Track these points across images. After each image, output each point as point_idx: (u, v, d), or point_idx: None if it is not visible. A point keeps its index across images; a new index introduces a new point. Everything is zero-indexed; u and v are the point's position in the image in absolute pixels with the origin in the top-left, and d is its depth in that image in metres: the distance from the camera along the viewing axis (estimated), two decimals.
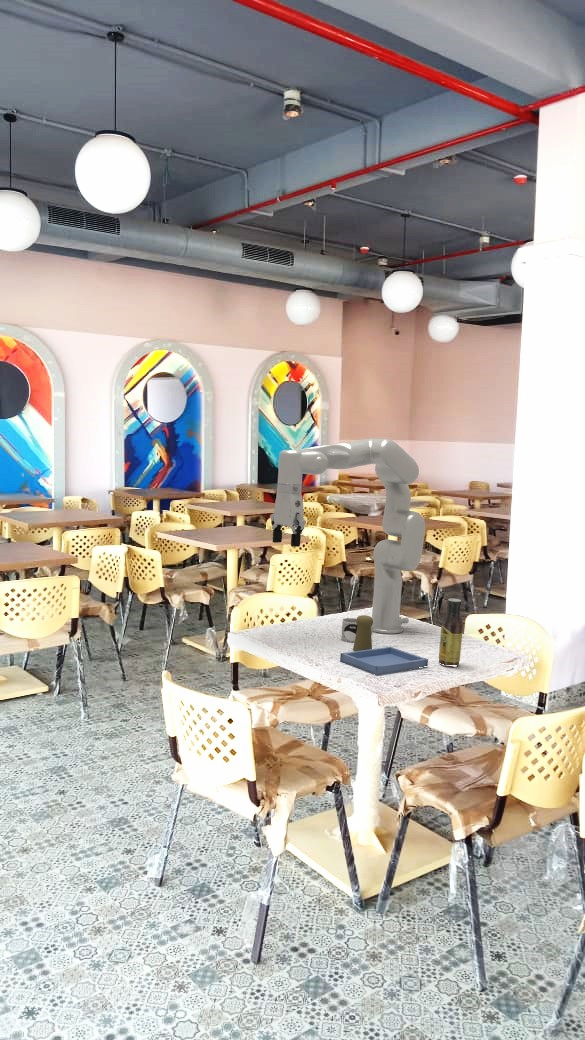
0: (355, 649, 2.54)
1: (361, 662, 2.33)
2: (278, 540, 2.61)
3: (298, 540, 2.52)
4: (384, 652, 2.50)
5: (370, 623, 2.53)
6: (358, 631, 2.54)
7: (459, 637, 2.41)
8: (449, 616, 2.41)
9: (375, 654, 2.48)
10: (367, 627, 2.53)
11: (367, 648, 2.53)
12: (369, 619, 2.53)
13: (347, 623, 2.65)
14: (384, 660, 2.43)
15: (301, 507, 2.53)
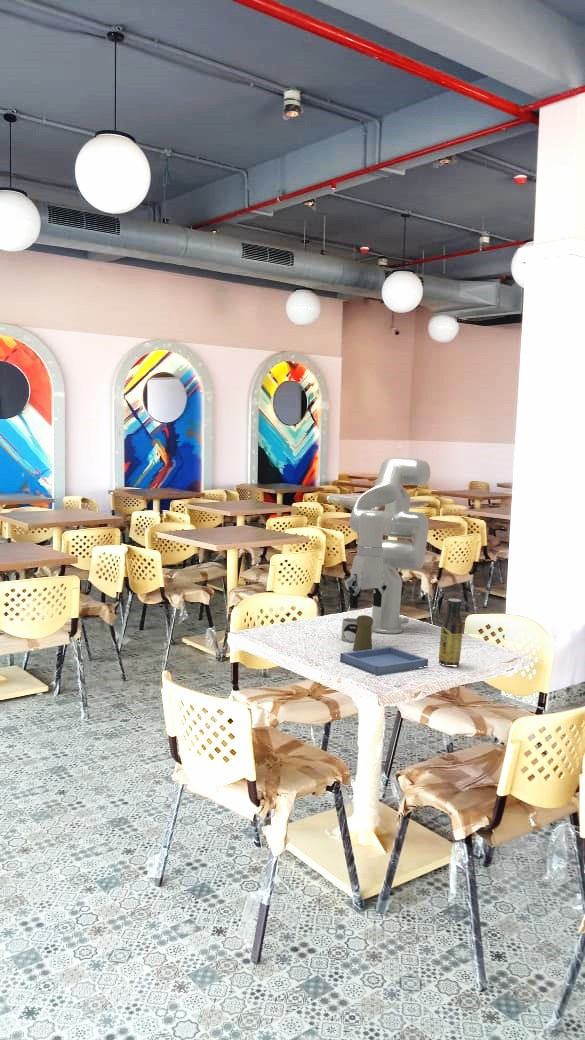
0: (355, 649, 2.54)
1: (361, 662, 2.33)
2: None
3: None
4: (384, 652, 2.50)
5: (370, 623, 2.53)
6: (358, 631, 2.54)
7: (459, 637, 2.41)
8: (449, 616, 2.41)
9: (375, 654, 2.48)
10: (367, 627, 2.53)
11: (367, 648, 2.53)
12: (369, 619, 2.53)
13: (347, 623, 2.65)
14: (384, 660, 2.43)
15: None
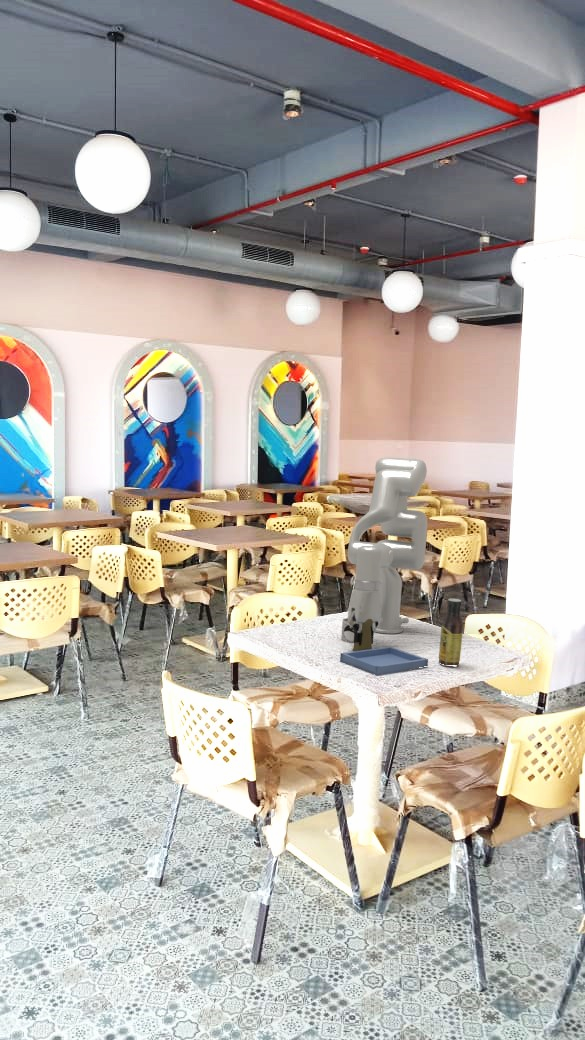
0: (355, 649, 2.54)
1: (361, 662, 2.33)
2: None
3: None
4: (384, 652, 2.50)
5: (370, 623, 2.53)
6: None
7: (459, 637, 2.41)
8: (449, 616, 2.41)
9: (375, 654, 2.48)
10: (367, 627, 2.53)
11: (367, 648, 2.53)
12: (369, 619, 2.53)
13: None
14: (384, 660, 2.43)
15: None
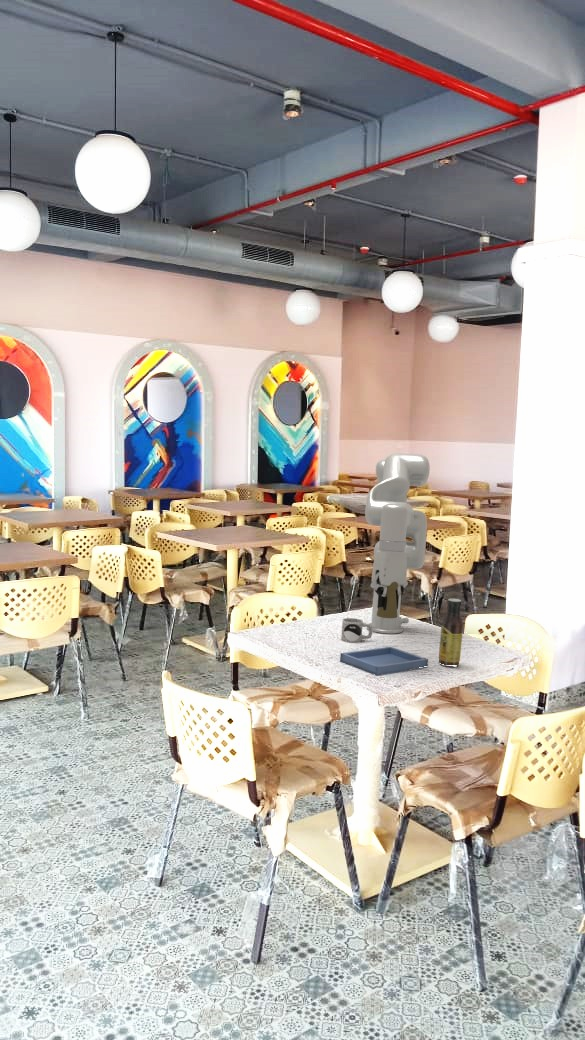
0: (379, 614, 2.38)
1: (361, 662, 2.33)
2: None
3: None
4: (384, 652, 2.50)
5: (396, 586, 2.37)
6: None
7: (459, 637, 2.41)
8: (449, 616, 2.41)
9: (375, 654, 2.48)
10: (392, 590, 2.37)
11: (392, 613, 2.37)
12: (394, 582, 2.36)
13: (347, 623, 2.65)
14: (384, 660, 2.43)
15: None
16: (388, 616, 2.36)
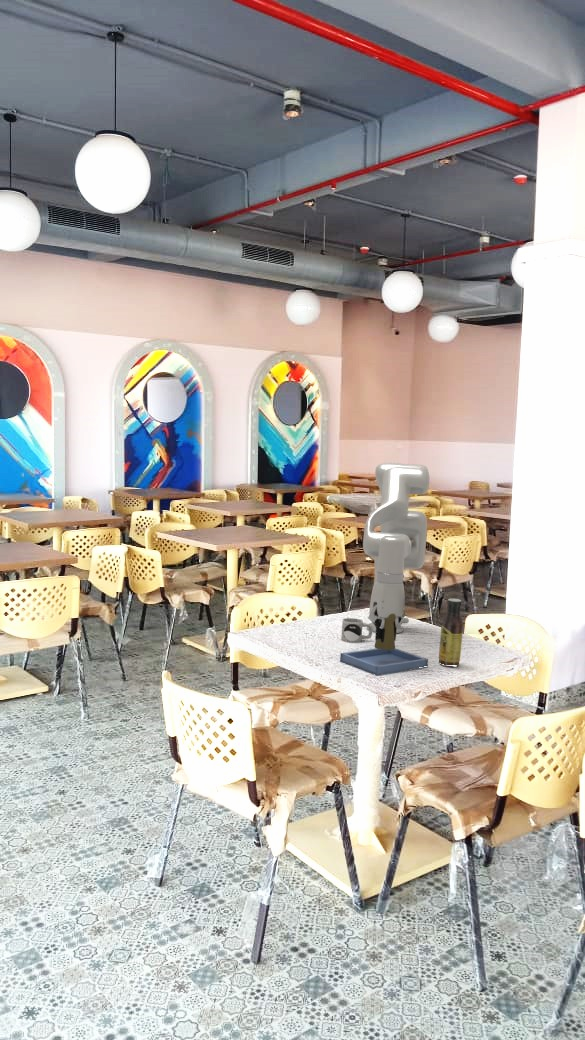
0: (377, 646, 2.38)
1: (361, 662, 2.33)
2: None
3: None
4: (384, 652, 2.50)
5: (393, 618, 2.37)
6: None
7: (459, 637, 2.41)
8: (449, 616, 2.41)
9: (375, 654, 2.48)
10: (390, 622, 2.37)
11: (390, 645, 2.37)
12: (392, 614, 2.37)
13: (347, 623, 2.65)
14: (384, 660, 2.43)
15: None
16: (386, 648, 2.37)
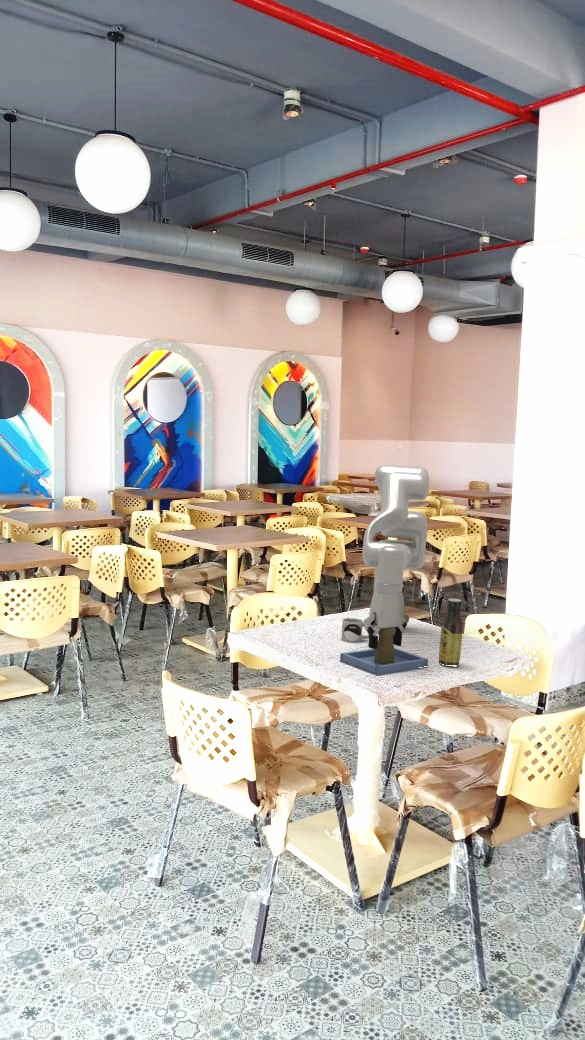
0: (376, 660, 2.39)
1: (361, 662, 2.33)
2: None
3: None
4: None
5: (392, 633, 2.38)
6: (379, 641, 2.39)
7: (459, 637, 2.41)
8: (449, 616, 2.41)
9: None
10: (389, 637, 2.38)
11: (389, 659, 2.38)
12: (391, 629, 2.38)
13: (347, 623, 2.65)
14: None
15: None
16: (385, 663, 2.38)
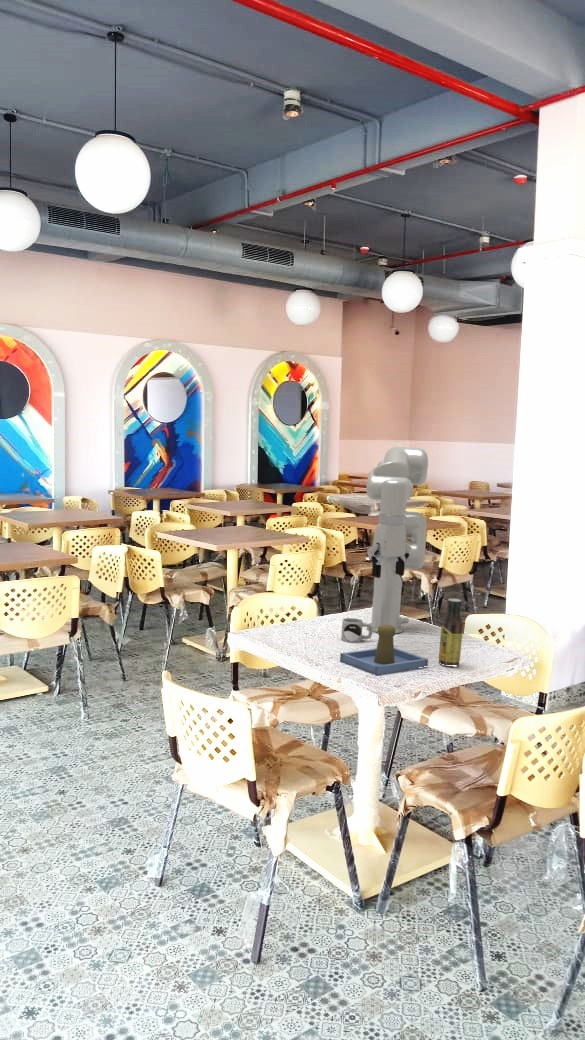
0: (376, 660, 2.39)
1: (361, 662, 2.33)
2: None
3: None
4: None
5: (393, 633, 2.38)
6: (379, 641, 2.39)
7: (459, 637, 2.41)
8: (449, 616, 2.41)
9: None
10: (389, 637, 2.38)
11: (389, 659, 2.38)
12: (391, 629, 2.38)
13: (347, 623, 2.65)
14: None
15: None
16: (385, 663, 2.38)
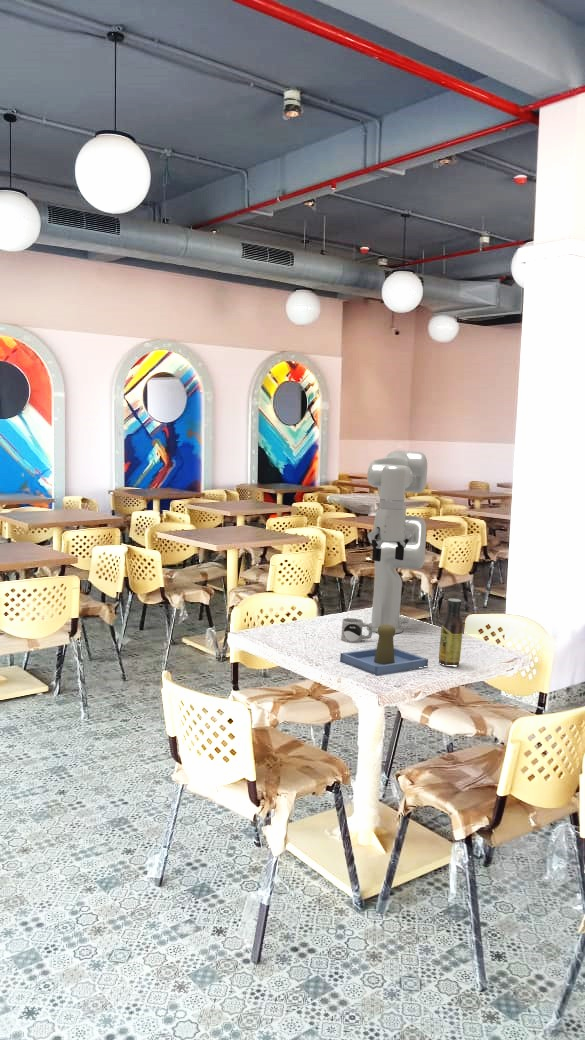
0: (376, 660, 2.39)
1: (361, 662, 2.33)
2: None
3: None
4: None
5: (393, 633, 2.38)
6: (379, 641, 2.39)
7: (459, 637, 2.41)
8: (449, 616, 2.41)
9: None
10: (389, 637, 2.38)
11: (389, 659, 2.38)
12: (391, 629, 2.38)
13: (347, 623, 2.65)
14: None
15: None
16: (385, 663, 2.38)
